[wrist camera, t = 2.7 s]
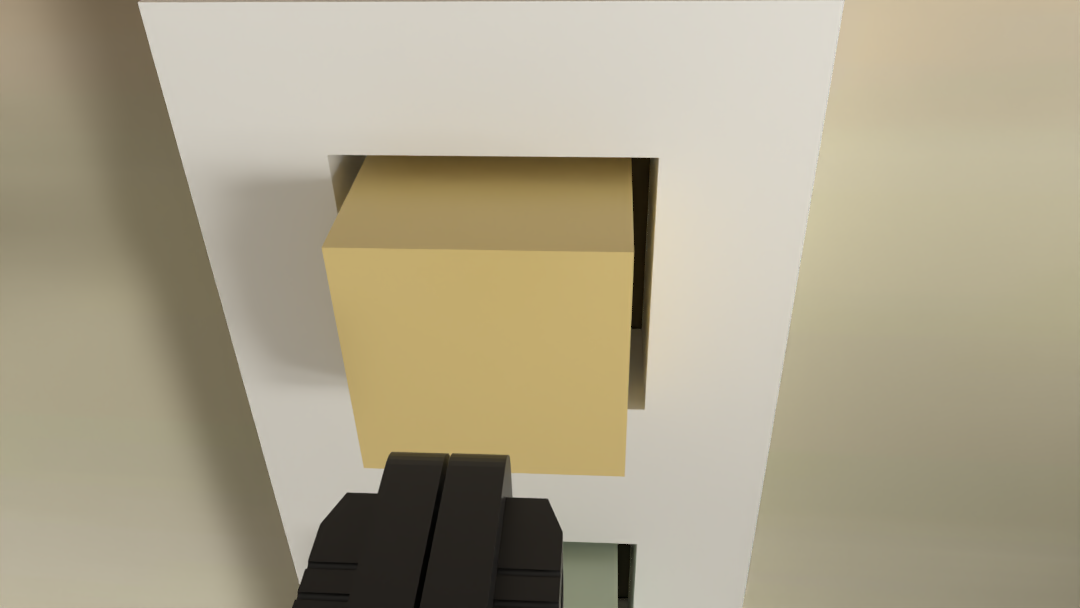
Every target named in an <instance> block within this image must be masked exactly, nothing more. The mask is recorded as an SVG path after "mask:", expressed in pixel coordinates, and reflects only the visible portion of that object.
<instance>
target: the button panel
mask: <svg viewBox="0 0 1080 608" xmlns="http://www.w3.org/2000/svg"><path fill="white" fill-rule="evenodd" d="M844 1H845V0H140V1H139V2H138V6H139V9H140V13H141V16H142V20H143V24H144V27H145V31H146V34H147V38H148V42H149V45H150V49H151V52H152V56H153V60H154V63H155V67H156V70H157V74H158V78H159V81H160V85H161V88H162V92H163V96H164V99H165V103H166V106H167V110H168V113H169V117H170V121H171V124H172V128H173V131H174V135H175V139H176V142H177V146H178V149H179V153H180V157H181V160H182V164H183V167H184V171H185V175H186V178H187V182H188V185H189V189H190V193H191V196H192V200H193V203H194V207H195V210H196V214H197V218H198V221H199V225H200V228H201V232H202V236H203V239H204V243H205V246H206V250H207V254H208V257H209V261H210V264H211V268H212V272H213V275H214V279H215V282H216V286H217V290H218V293H219V297H220V300H221V304H222V307H223V311H224V315H225V318H226V322H227V325H228V329H229V333H230V336H231V340H232V343H233V347H234V351H235V354H236V358H237V361H238V365H239V369H240V372H241V376H242V379H243V383H244V387H245V390H246V394H247V397H248V401H249V404H250V408H251V412H252V415H253V419H254V422H255V426H256V430H257V433H258V437H259V440H260V444H261V448H262V451H263V455H264V458H265V462H266V466H267V469H268V473H269V476H270V480H271V484H272V487H273V491H274V494H275V498H276V502H277V505H278V509H279V512H280V516H281V519H282V523H283V527H284V530H285V534H286V537H287V541H288V545H289V548H290V552H291V555H292V559H293V563H294V566H295V570H296V573H297V577H298V581H299V584H300V583H301V580H302V577H303V574H304V571H305V569H307V567H308V559H309V556H310V553H311V550H312V547H313V544H314V541H315V538H316V535H317V532H318V529H319V526H320V524H321V522H322V521H323V520H324V519H325V518H326V516H327V515H328V514H329V513H330V512H331V511H332V509H333V508H334V507H335V506H336V505H337V504H338V502H339V501H340V500H341V499H342V498H343V497H344V495H345V494H346V493H347V492H351V493H378V490H379V486H380V483H381V479H382V475H383V472H384V469H376V468H364V466H363V461H362V456H361V451H360V445H359V440H358V435H357V430H356V425H355V419H354V414H353V409H352V404H351V398H350V393H349V388H348V383H347V378H346V372H345V367H344V362H343V357H342V352H341V346H340V341H339V336H338V331H337V326H336V320H335V315H334V310H333V305H332V299H331V294H330V289H329V284H328V279H327V273H326V268H325V263H324V258H323V253H322V246H323V244H324V241H325V239H326V237H327V235H328V233H329V231H330V229H331V227H332V225H333V223H334V221H335V219H336V217H337V215H338V213H339V211H340V209H341V207H342V205H343V203H344V201H345V199H346V197H347V195H348V193H349V191H350V188H351V186H352V184H353V182H354V180H355V178H356V176H357V174H358V172H359V170H360V168H361V166H362V164H363V162H364V160H365V158H366V156H367V155H409V156H525V157H640V158H650V176H649V196H648V215H647V235H646V255H645V275H644V294H643V314H642V329H631V338H630V362H629V386H628V410H627V434H626V457H625V477H621V476H590V475H560V474H529V473H511V479H512V496H513V497H515V498H546V499H548V500H549V502H550V504H551V507H552V509H553V511H554V513H555V516H556V518H557V520H558V522H559V525H560V527H561V529H562V531H563V541H565V542H592V543H618V544H631V551H630V571H629V590H628V599H623V598H618V608H743V602H744V596H745V590H746V584H747V578H748V572H749V566H750V560H751V554H752V548H753V542H754V536H755V530H756V524H757V518H758V512H759V506H760V500H761V495H762V489H763V483H764V477H765V471H766V465H767V459H768V453H769V447H770V441H771V435H772V429H773V423H774V417H775V411H776V405H777V399H778V393H779V388H780V382H781V376H782V370H783V364H784V358H785V352H786V346H787V340H788V334H789V328H790V322H791V316H792V310H793V304H794V298H795V292H796V286H797V280H798V275H799V269H800V263H801V257H802V251H803V245H804V239H805V233H806V227H807V221H808V215H809V209H810V203H811V197H812V191H813V185H814V179H815V173H816V168H817V162H818V156H819V150H820V144H821V138H822V132H823V126H824V120H825V114H826V108H827V102H828V96H829V90H830V84H831V78H832V72H833V66H834V60H835V55H836V49H837V43H838V37H839V31H840V25H841V19H842V13H843V7H844Z"/></svg>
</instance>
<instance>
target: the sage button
mask: <svg viewBox="0 0 1080 608" xmlns="http://www.w3.org/2000/svg"><path fill="white" fill-rule="evenodd" d="M563 584H564V608H618V543H592V542H565V541H563Z"/></svg>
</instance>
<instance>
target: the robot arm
mask: <svg viewBox="0 0 1080 608" xmlns="http://www.w3.org/2000/svg"><path fill="white" fill-rule="evenodd" d="M292 608H564V584H563V531H562V529H561V527H560V525H559V522H558V520H557V518H556V516H555V513H554V511H553V509H552V507H551V504H550V502H549V500H548V499H546V498H515V497H513V496H512V479H511V463H510V456H509V455H497V454H463V453H452V454H451V456H450V455H449V453H419V452H391V453H390V454H389V456H388V458H387V461H386V464H385V468H384V472H383V475H382V479H381V483H380V486H379V490H378V493H351V492H347V493H346V494H345V495H344V497H343V498H342V499H341V500H340V501H339V502H338V504H337V505H336V506H335V507H334V508H333V509H332V511H331V512H330V513H329V514H328V515H327V516H326V518H325V519H324V520H323V521H322V522H321V524H320V526H319V529H318V532H317V535H316V538H315V541H314V544H313V547H312V550H311V553H310V556H309V559H308V567H307V569H305V571H304V574H303V577H302V580H301V583H300V586H299V589H298V597H297V600H295V601H294V604H293V607H292Z"/></svg>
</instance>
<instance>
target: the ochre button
mask: <svg viewBox="0 0 1080 608" xmlns="http://www.w3.org/2000/svg"><path fill="white" fill-rule="evenodd" d="M322 253H323V258H324V263H325V268H326V273H327V279H328V284H329V289H330V294H331V299H332V305H333V310H334V315H335V320H336V326H337V331H338V336H339V341H340V346H341V352H342V357H343V362H344V367H345V372H346V378H347V383H348V388H349V393H350V398H351V404H352V409H353V414H354V419H355V425H356V430H357V435H358V440H359V445H360V451H361V456H362V461H363V466H364V468H376V469H384V468H385V464H386V461H387V458H388V456H389V454H390V453H391V452H419V453H449V455H450V456H451V454H452V453H463V454H497V455H509V456H510V463H511V473H529V474H560V475H590V476H621V477H625V457H626V434H627V410H628V386H629V362H630V338H631V315H632V291H633V267H634V231H633V197H632V163H631V157H525V156H409V155H367V156H366V158H365V160H364V162H363V164H362V166H361V168H360V170H359V172H358V174H357V176H356V178H355V180H354V182H353V184H352V186H351V188H350V191H349V193H348V195H347V197H346V199H345V201H344V203H343V205H342V207H341V209H340V211H339V213H338V215H337V217H336V219H335V221H334V223H333V225H332V227H331V229H330V231H329V233H328V235H327V237H326V239H325V241H324V244H323V246H322Z"/></svg>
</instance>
